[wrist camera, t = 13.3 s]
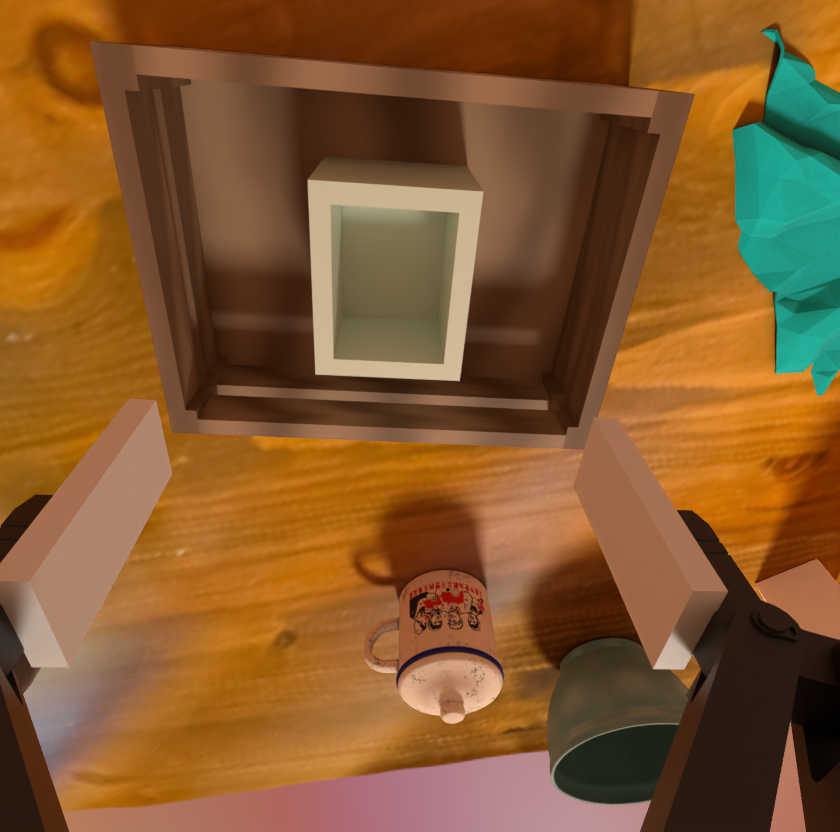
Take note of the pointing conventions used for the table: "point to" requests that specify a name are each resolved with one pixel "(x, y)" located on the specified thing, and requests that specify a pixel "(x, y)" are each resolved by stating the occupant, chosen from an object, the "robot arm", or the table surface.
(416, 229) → the small crate
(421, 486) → the table surface
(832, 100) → the cloth
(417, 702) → the teacup with lid
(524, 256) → the crate
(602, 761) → the flower pot
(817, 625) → the milk
